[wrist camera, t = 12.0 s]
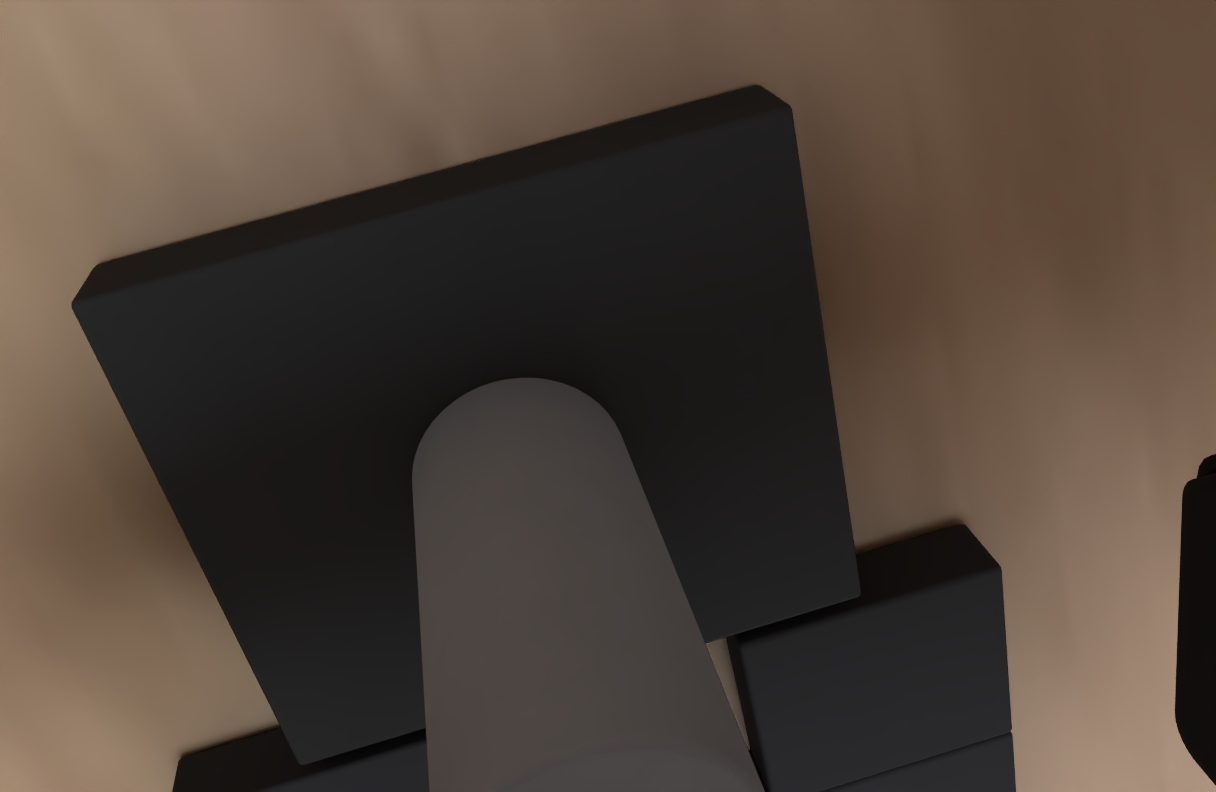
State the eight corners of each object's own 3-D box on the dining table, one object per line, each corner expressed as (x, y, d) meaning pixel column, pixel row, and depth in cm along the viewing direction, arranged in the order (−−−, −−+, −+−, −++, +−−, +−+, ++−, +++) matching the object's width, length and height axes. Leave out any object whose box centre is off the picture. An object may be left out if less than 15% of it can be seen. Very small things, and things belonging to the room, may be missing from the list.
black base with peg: (760, 81, 13) (1108, 315, 7) (856, 709, 18) (1113, 1179, 12) (91, 264, 13) (-182, 691, 7) (376, 858, 18) (377, 1428, 11)
